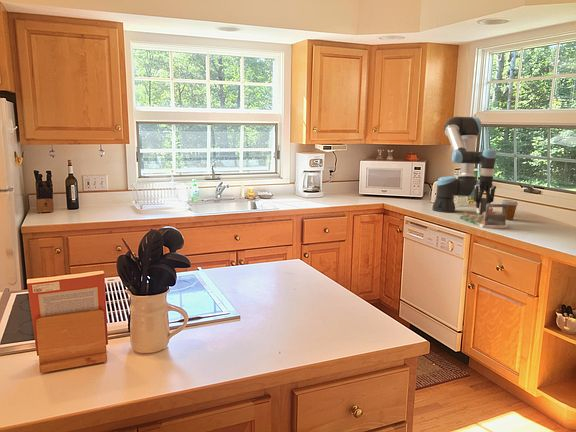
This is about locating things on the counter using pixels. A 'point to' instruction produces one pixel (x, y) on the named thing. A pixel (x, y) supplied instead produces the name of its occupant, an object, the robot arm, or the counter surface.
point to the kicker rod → (483, 208)
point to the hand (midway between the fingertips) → (481, 213)
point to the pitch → (488, 218)
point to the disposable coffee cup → (509, 208)
